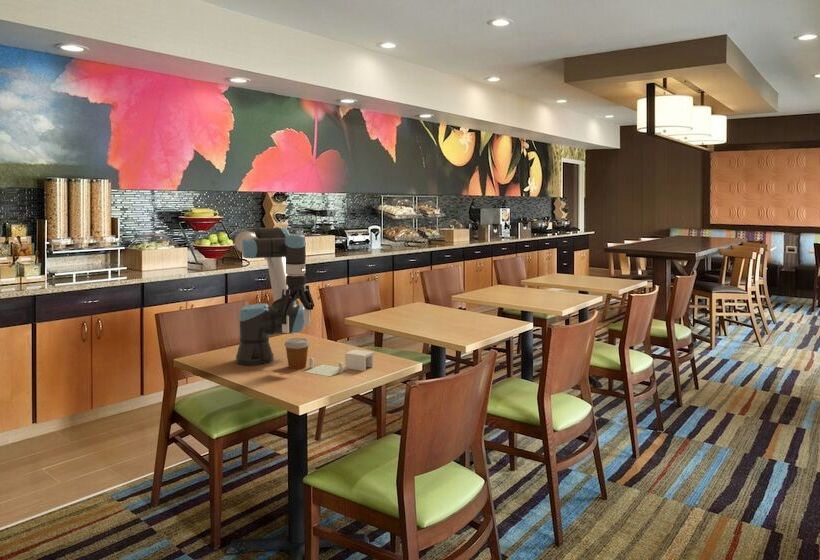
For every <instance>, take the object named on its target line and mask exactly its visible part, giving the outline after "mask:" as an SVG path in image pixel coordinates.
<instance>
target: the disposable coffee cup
mask: <svg viewBox="0 0 820 560" xmlns="http://www.w3.org/2000/svg"><path fill="white" fill-rule="evenodd" d="M284 346H285V351H286V356H287V365H288V368H289V369H290V370H304V369H306V368H307V360H308V351H309V346H310V342H309V339H307V338H301V337H298V338H297V337H295V338H289V339H286V340H285V343H284Z"/></svg>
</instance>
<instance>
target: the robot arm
mask: <svg viewBox="0 0 820 560" xmlns="http://www.w3.org/2000/svg"><path fill="white" fill-rule="evenodd" d="M233 243H234V246H235V248H236V250H237V251H239V252H240V253H242V257H243V258H245V259H264V260H266V262H267V269H268V274H269V281H270V285H271V286H270V287H271V291H272V298H273V301H272V303H271V305H270V306H269V304H268V303H266V302H263V303H253V304H248V305H246V306H242V307H241V308H240V310H239V311H238V312H239V313H238V322H239V325H238V327H239V345H238V349H237V353H236V355H235V363H236V364H238V365H241V366H261V365H267V364H270V363H273V361H274V360H275V359H274V356H275V355H274V352H273V350H272V347H271V344H270V336H273V335H274V336H275V335H276V336H277V335H287V334H297V333H299V334H300V333H301V332H302V331H303V330H304V327H311V326H312V325H311V323H312V322H311V319H312V318H311V316H312V311H313V310H314V307H315V302H314V299H313V297H312V294H311V291H310V286H309V285H307V277H306V275H305V274H306V273H307V272H306V236H305V235H304V234H297V233H293V234H292V233H291V234H290V232H289V230H288V229H287V228H285V227H279V226H277V227H250V228H246V229H243V230H241V231H239V232H238V233H237V234H236V235H235V238H234V241H233ZM298 299H299V300H298ZM299 301H300V302H301V304H300V303H299Z"/></svg>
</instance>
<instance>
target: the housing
mask: <svg viewBox="0 0 820 560" xmlns="http://www.w3.org/2000/svg"><path fill="white" fill-rule="evenodd" d="M344 355H345V356H344V365H345V366H344V368H348V369H347V370H349V369H350V370H356V371H362V372H366V371H367V368H374V352H373V351H369V350H361V349H352V350H349V351H347V352H345V354H344Z"/></svg>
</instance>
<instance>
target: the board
mask: <svg viewBox="0 0 820 560" xmlns="http://www.w3.org/2000/svg"><path fill="white" fill-rule="evenodd" d="M314 360H315V359H314V357H309V360H308V361H309V369H308V370H305V371H304V373H305V374H313V375H319V376H325V377H333V376H334V375H336V374H343V373H344V371H345V370H349V369H348V368H345V367H344V363H343V362H338V366H334V365H328V364H321V365H318V366H314V362H315V361H314Z"/></svg>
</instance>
